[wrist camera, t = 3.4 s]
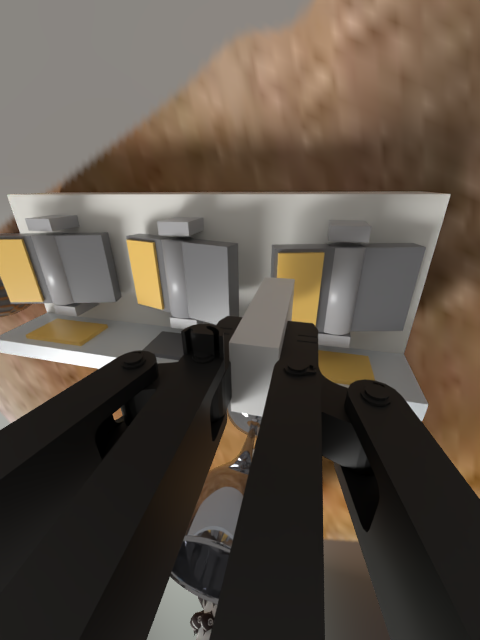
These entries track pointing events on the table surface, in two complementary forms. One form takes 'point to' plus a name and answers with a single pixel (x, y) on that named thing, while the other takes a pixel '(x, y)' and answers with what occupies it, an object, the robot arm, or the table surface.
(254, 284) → the switch unit
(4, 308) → the vase
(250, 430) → the wine glass
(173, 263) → the switch middle
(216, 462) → the table surface
